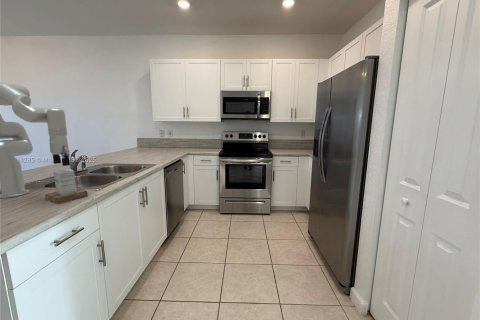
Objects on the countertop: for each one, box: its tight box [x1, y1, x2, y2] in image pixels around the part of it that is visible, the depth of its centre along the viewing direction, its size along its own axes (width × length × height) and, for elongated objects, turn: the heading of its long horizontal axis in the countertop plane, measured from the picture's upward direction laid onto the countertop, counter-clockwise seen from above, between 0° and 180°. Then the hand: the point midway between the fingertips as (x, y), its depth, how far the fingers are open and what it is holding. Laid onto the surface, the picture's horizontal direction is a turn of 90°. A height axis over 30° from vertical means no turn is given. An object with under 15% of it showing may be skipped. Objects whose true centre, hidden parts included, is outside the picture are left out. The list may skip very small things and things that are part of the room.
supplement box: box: [53, 168, 77, 195], centre depth 120 cm, size 7×7×13 cm
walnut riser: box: [44, 187, 89, 205], centre depth 122 cm, size 14×14×3 cm
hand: (61, 164), depth 119 cm, fingers open, 9 cm apart
